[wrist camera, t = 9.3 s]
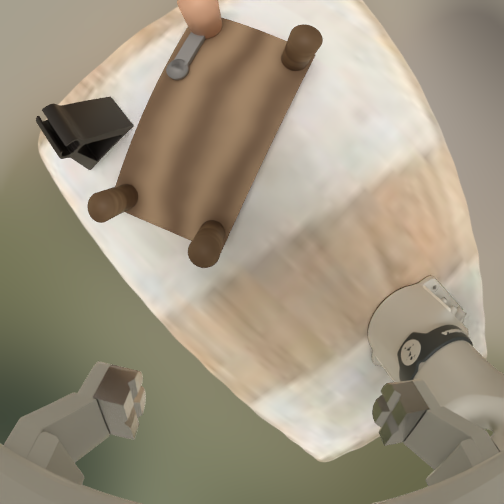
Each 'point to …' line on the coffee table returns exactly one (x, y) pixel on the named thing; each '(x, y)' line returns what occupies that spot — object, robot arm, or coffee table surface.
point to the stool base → (209, 135)
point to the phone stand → (84, 129)
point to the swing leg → (195, 33)
